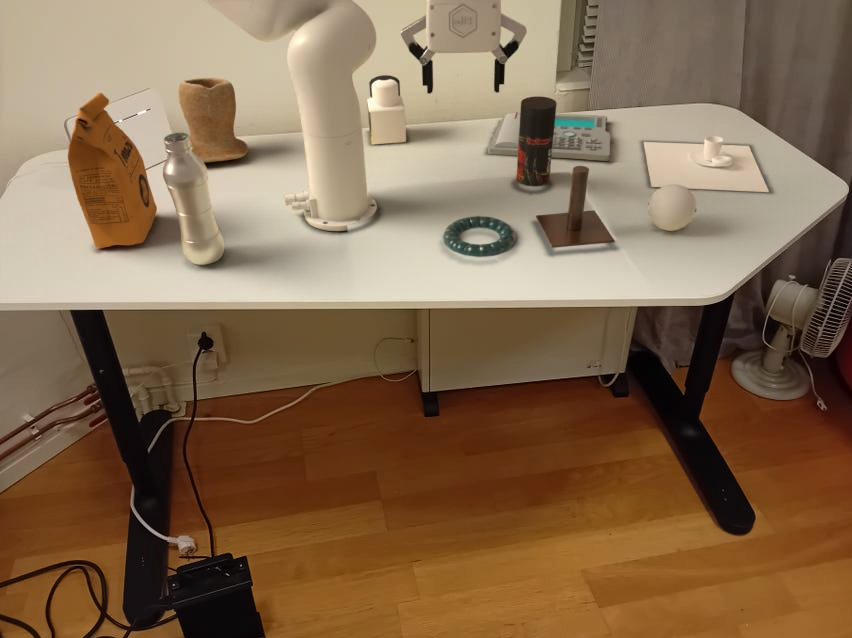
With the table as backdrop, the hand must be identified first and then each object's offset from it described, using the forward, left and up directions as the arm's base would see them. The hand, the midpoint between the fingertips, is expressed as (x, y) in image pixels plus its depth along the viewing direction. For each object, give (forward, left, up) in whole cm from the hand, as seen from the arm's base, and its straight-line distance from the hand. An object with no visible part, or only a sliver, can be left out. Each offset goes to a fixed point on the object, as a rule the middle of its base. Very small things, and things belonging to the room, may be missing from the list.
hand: (463, 89), depth 106 cm
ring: (+2, -5, -22) cm, 23 cm away
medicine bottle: (-9, +41, -23) cm, 48 cm away
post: (+17, -5, -23) cm, 29 cm away
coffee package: (-56, +9, -23) cm, 61 cm away
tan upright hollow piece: (-45, +38, -23) cm, 63 cm away
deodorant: (+15, +14, -23) cm, 31 cm away
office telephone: (+24, +34, -23) cm, 48 cm away
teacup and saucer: (+48, +16, -23) cm, 56 cm away
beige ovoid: (+33, -4, -23) cm, 41 cm away
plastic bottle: (-42, -2, -23) cm, 48 cm away
